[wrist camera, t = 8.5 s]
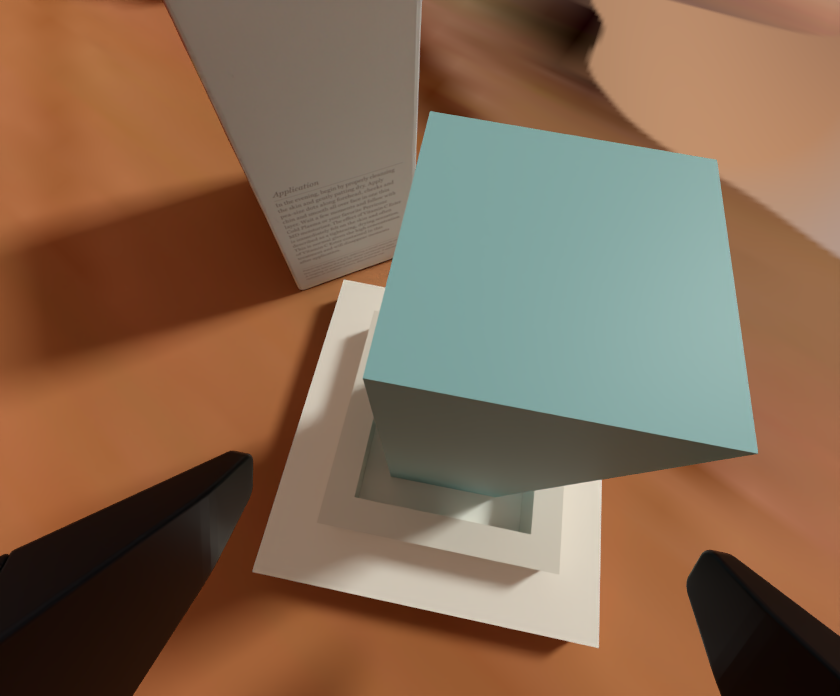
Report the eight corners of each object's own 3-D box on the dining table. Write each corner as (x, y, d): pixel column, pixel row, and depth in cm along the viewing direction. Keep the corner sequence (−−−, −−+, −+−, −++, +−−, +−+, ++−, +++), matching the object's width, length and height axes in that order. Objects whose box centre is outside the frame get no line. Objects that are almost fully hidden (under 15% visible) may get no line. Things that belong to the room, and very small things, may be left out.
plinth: (580, 635, 15) (621, 663, 12) (265, 566, 15) (235, 578, 12) (589, 342, 19) (621, 314, 17) (348, 295, 20) (339, 260, 17)
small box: (252, 179, 22) (78, -210, 10) (359, 148, 24) (315, -232, 12) (298, 296, 20) (135, -45, 8) (415, 254, 21) (435, -96, 9)
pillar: (494, 497, 15) (758, 453, 4) (390, 476, 15) (363, 378, 4) (505, 396, 17) (717, 159, 5) (411, 377, 17) (429, 111, 6)
